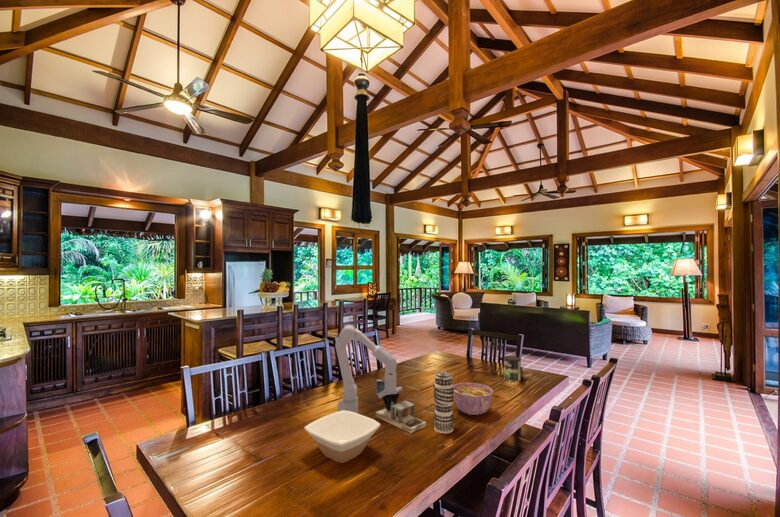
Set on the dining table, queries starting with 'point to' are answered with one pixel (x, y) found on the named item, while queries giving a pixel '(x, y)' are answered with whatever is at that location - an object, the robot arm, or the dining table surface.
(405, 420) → the block
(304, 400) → the dining table surface
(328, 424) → the bowl
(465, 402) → the bowl of food
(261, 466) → the dining table surface
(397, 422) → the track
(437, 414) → the white patterned tall cylinder
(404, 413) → the walnut block
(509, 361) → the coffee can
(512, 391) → the dining table surface
